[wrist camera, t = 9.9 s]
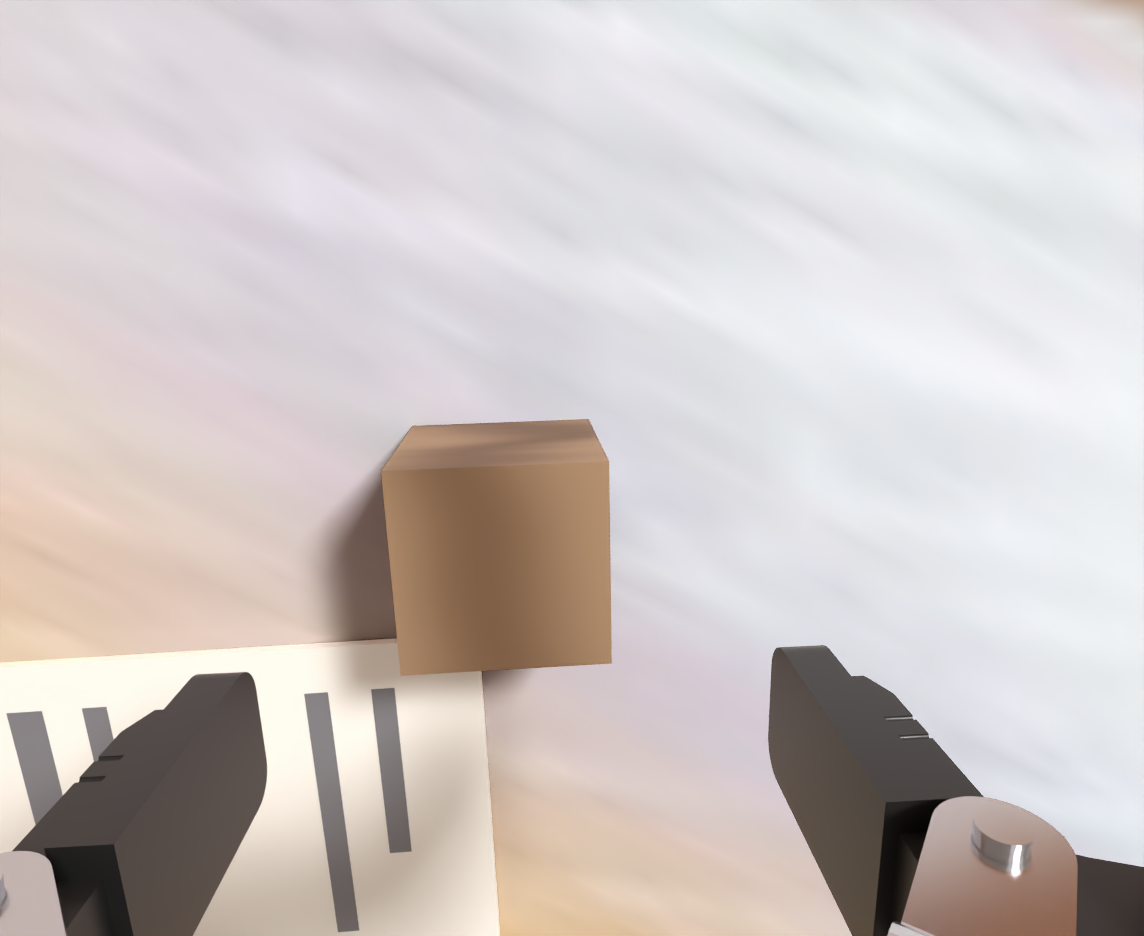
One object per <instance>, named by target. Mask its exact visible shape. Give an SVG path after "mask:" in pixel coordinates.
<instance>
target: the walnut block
mask: <svg viewBox="0 0 1144 936" xmlns="http://www.w3.org/2000/svg"><path fill="white" fill-rule="evenodd" d="M381 477H382V487H383V498H384V508H385V519H386V529H387V540H388V550H389V560H390V571H391V581H392V592H393V602H394V613H395V623H396V634H397V644H398V654H399V665H400V675H401V676H407V675H424V674H441V673H458V672H474V671H491V670H508V669H525V668H541V667H558V666H575V665H592V664H608V663H612V659H611V581H610V504H609V460H608V458H607V456H606V454H605V452H604V450H603V448H602V446H601V444H600V442H599V440H598V438H597V436H596V434H595V432H594V430H593V428H592V425H591V423H590V421H589V419H582V420H556V421H530V422H504V423H478V424H452V425H427V426H412V427H411V429H410V430H409V432H408V433H407V434H406V436H405V437H404V439H403V440H402V442H401V443H400V444H399V446H398V447H397V449H396V450H395V452H394V453H393V454H392V456H391V457H390V459H389V460H388V462H387V463H386V464H385V466H384V467H383V469H382V470H381Z"/></svg>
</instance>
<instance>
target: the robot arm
mask: <svg viewBox="0 0 1144 936" xmlns="http://www.w3.org/2000/svg"><path fill="white" fill-rule="evenodd" d="M768 742H769V753H770V759H771V764H772V768H773V772H774V775H775V777H776V780H777V782H778V784H779V786H780V788H781V790H782V792H783V794H784V796H785V798H786V800H787V803H788V805H789V807H790V809H791V811H792V813H793V815H794V817H795V819H796V821H797V823H798V825H799V827H800V829H801V831H802V833H803V835H804V837H805V839H806V841H807V844H808V846H809V848H810V850H811V852H812V854H813V856H814V858H815V860H816V862H817V864H818V866H819V868H820V870H821V872H822V874H823V876H824V878H825V880H826V883H827V885H828V887H829V889H830V891H831V893H832V895H833V897H834V899H835V901H836V903H837V905H838V907H839V909H840V911H841V913H842V915H843V917H844V919H845V921H846V924H847V926H848V928H849V930H850V932H851V934H852V936H1144V867H1139V866H1134V865H1128V864H1122V863H1116V862H1111V861H1105V860H1099V859H1094V858H1089V857H1084V856H1079V855H1075V853H1074V850H1073V849H1072V847H1071V846H1070V844H1069V843H1068V841H1067V840H1066V839H1065V838H1064V837H1063V836H1062V835H1061V833H1059V832H1058V831H1057V830H1056V829H1055V828H1054V827H1053V826H1051V825H1050V824H1048V823H1047V822H1046V821H1044V820H1043V819H1041V818H1040V817H1038V816H1036V815H1034V814H1033V813H1031V812H1029V811H1027V810H1025V809H1022V808H1020V807H1018V806H1015V805H1012V804H1010V803H1007V802H1003V801H1000V800H996V799H991V798H986V797H983V796H982V795H981V793H980V792H979V791H978V790H977V789H976V788H975V787H974V785H973V784H972V783H971V782H970V781H969V780H968V778H967V777H966V776H965V775H964V774H963V773H962V772H961V770H960V769H959V768H958V767H957V766H956V765H955V764H954V762H953V761H952V760H951V759H950V758H949V757H948V756H947V754H946V753H945V752H944V751H943V750H942V749H941V748H940V746H939V745H938V744H937V743H936V742H935V741H934V740H933V738H929V736H928V733H927V732H926V730H925V729H924V728H923V727H922V726H921V725H920V724H919V722H918V721H917V720H913V717H912V714H911V713H910V712H909V711H908V710H907V709H906V707H905V706H904V705H903V704H902V703H901V702H900V701H899V699H898V698H897V697H896V696H895V695H894V694H893V693H892V692H890V691H888V690H887V689H885V688H883V687H882V686H880V685H878V684H877V683H875V682H873V681H872V680H870V679H868V678H867V677H865V676H851V675H850V674H849V673H848V672H847V671H846V669H845V668H844V667H843V666H842V664H841V663H840V662H839V661H838V659H837V658H836V657H835V656H834V654H833V653H832V652H831V651H830V649H829V648H828V647H826V646H823V645H821V646H800V647H780V648H776V649H775V651H774V653H773V658H772V669H771V690H770V711H769V732H768ZM79 778H80V779H79V783H74V784H73V785H72V786H71V787H70V788H69V789H68V790H67V791H66V793H65V794H64V795H63V796H62V797H61V798H60V799H59V800H58V801H57V802H56V804H55V805H54V806H53V807H52V808H51V809H50V810H49V811H48V812H47V813H46V814H45V816H44V817H43V818H42V819H41V820H40V821H39V822H38V823H37V824H36V825H35V826H34V828H33V829H32V830H31V831H30V832H29V833H28V834H27V835H26V836H25V837H24V838H23V840H22V841H21V842H20V843H19V844H18V845H17V846H16V847H15V848H14V849H13V850H12V852H5V853H0V936H193V935H194V933H195V931H196V929H197V927H198V925H199V923H200V921H201V919H202V917H203V915H204V913H205V912H206V910H207V908H208V906H209V904H210V902H211V900H212V898H213V896H214V894H215V892H216V890H217V888H218V887H219V885H220V883H221V881H222V879H223V877H224V875H225V873H226V871H227V869H228V867H229V865H230V863H231V862H232V860H233V858H234V856H235V854H236V852H237V850H238V848H239V846H240V844H241V842H242V840H243V839H244V837H245V835H246V833H247V831H248V829H249V827H250V825H251V823H252V821H253V819H254V817H255V815H256V814H257V812H258V810H259V808H260V805H261V803H262V800H263V797H264V793H265V788H266V781H267V759H266V752H265V745H264V739H263V732H262V725H261V718H260V711H259V705H258V698H257V691H256V686H255V682H254V679H253V677H252V676H251V674H250V673H248V672H234V673H213V674H197V675H194V676H193V677H192V678H191V679H190V680H189V681H188V682H187V683H186V684H185V685H184V686H183V688H182V689H181V690H180V691H179V692H178V693H177V695H176V696H175V697H174V698H173V699H172V700H171V702H170V703H169V704H168V705H167V706H166V707H165V708H164V710H154V711H153V712H151V713H149V714H148V715H146V716H145V717H143V718H142V719H140V720H139V721H137V722H135V723H134V724H132V725H131V726H129V727H128V728H126V729H125V730H123V731H122V732H120V734H119V735H118V736H117V737H116V738H115V739H114V740H113V741H112V742H111V743H110V745H109V746H108V747H107V748H106V749H105V750H104V751H103V752H102V753H101V754H100V755H99V759H98V761H94V762H93V763H92V764H91V765H90V766H89V767H88V769H87V770H86V771H85V772H84V773H83V774H82V775H81V776H80V777H79Z"/></svg>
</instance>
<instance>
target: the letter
mask: <svg viewBox="0 0 1144 936" xmlns="http://www.w3.org/2000/svg"><path fill="white" fill-rule="evenodd" d="M234 672H248V673H250V674H251V676H252V677H253V679H254V682H255V686H256V691H257V698H258V705H259V711H260V718H261V725H262V732H263V739H264V745H265V752H266V759H267V781H266V788H265V793H264V797H263V800H262V803H261V805H260V808H259V810H258V812H257V814H256V815H255V817H254V819H253V821H252V823H251V825H250V827H249V829H248V831H247V833H246V835H245V837H244V839H243V840H242V842H241V844H240V846H239V848H238V850H237V852H236V854H235V856H234V858H233V860H232V862H231V863H230V865H229V867H228V869H227V871H226V873H225V875H224V877H223V879H222V881H221V883H220V885H219V887H218V888H217V890H216V892H215V894H214V896H213V898H212V900H211V902H210V904H209V906H208V908H207V910H206V912H205V913H204V915H203V917H202V919H201V921H200V923H199V925H198V927H197V929H196V931H195V933H194V935H193V936H500V925H499V910H498V896H497V882H496V868H495V854H494V840H493V825H492V811H491V797H490V783H489V769H488V754H487V740H486V726H485V712H484V698H483V684H482V671H474V672H458V673H441V674H424V675H407V676H401V675H400V665H399V654H398V644H397V638H395V639H378V640H362V641H346V642H329V643H313V644H297V645H281V646H264V647H248V648H232V649H216V650H199V651H183V652H167V653H150V654H134V655H118V656H102V657H85V658H69V659H53V660H37V661H20V662H4V663H0V853H5V852H12V850H13V849H14V848H15V847H16V846H17V845H18V844H19V843H20V842H21V841H22V840H23V838H24V837H25V836H26V835H27V834H28V833H29V832H30V831H31V830H32V829H33V828H34V826H35V825H36V824H37V823H38V822H39V821H40V820H41V819H42V818H43V817H44V816H45V814H46V813H47V812H48V811H49V810H50V809H51V808H52V807H53V806H54V805H55V804H56V802H57V801H58V800H59V799H60V798H61V797H62V796H63V795H64V794H65V793H66V791H67V790H68V789H69V788H70V787H71V786H72V785H73V784H74V783H79V779H80V778H79V777H80V776H81V775H82V774H83V773H84V772H85V771H86V770H87V769H88V767H89V766H90V765H91V764H92V763H93V762H94V761H98V759H99V755H100V754H101V753H102V752H103V751H104V750H105V749H106V748H107V747H108V746H109V745H110V743H111V742H112V741H113V740H114V739H115V738H116V737H117V736H118V735H119V734H120V732H122V731H123V730H125V729H126V728H128V727H129V726H131V725H132V724H134V723H135V722H137V721H139V720H140V719H142V718H143V717H145V716H146V715H148V714H149V713H151V712H153V711H154V710H164V708H165V707H166V706H167V705H168V704H169V703H170V702H171V700H172V699H173V698H174V697H175V696H176V695H177V693H178V692H179V691H180V690H181V689H182V688H183V686H184V685H185V684H186V683H187V682H188V681H189V680H190V679H191V678H192V677H193V676H194V675H197V674H213V673H234Z"/></svg>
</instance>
